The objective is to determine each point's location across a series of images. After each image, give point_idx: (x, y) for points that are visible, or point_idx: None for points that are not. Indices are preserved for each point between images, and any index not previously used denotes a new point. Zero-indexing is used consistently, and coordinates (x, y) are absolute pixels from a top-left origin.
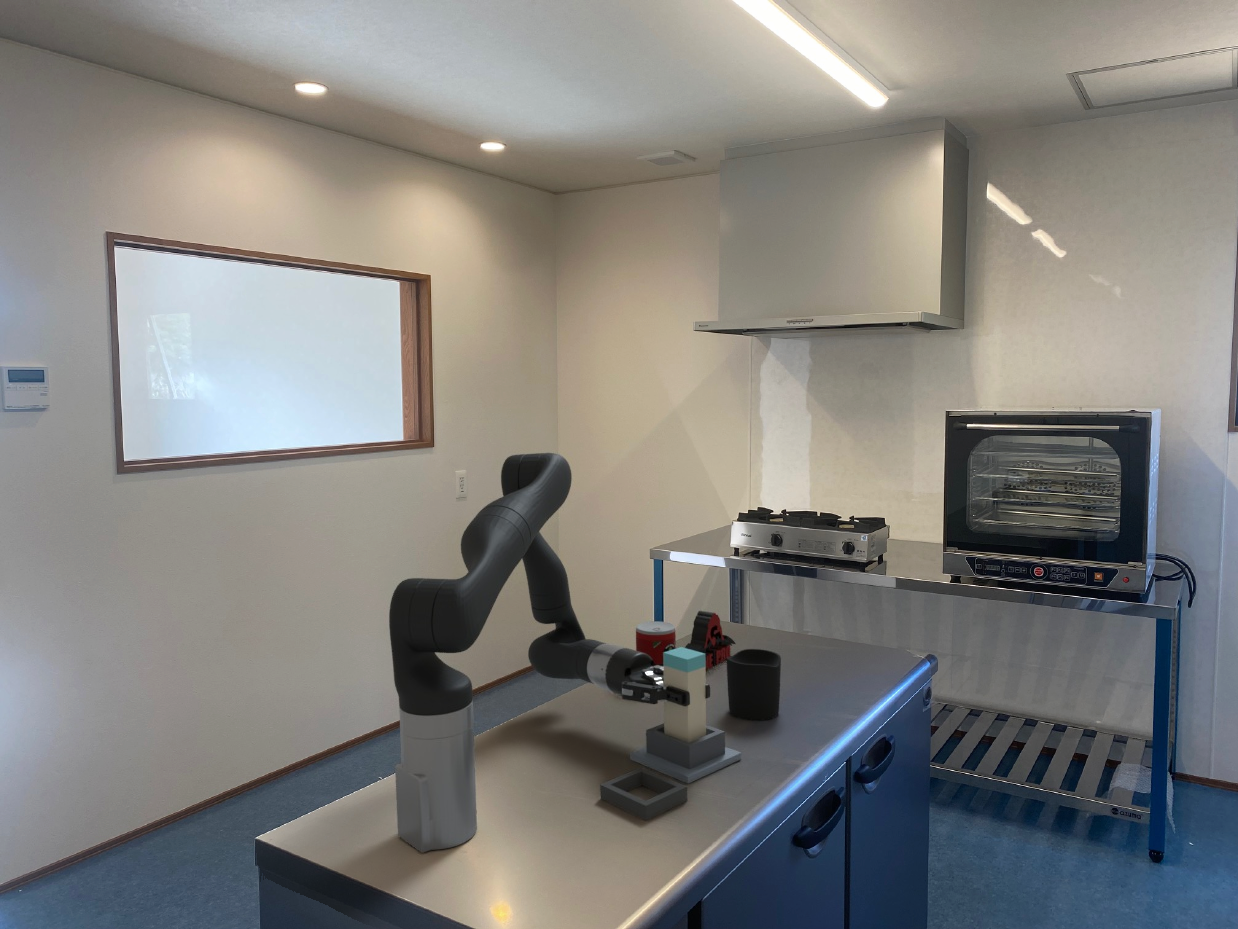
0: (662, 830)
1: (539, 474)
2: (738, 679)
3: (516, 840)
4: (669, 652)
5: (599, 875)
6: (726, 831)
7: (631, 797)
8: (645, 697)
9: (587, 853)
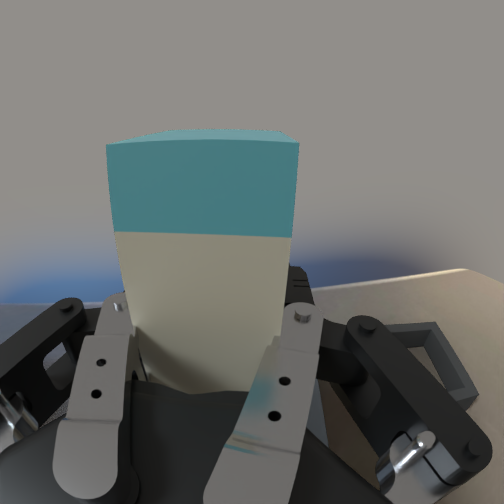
0: (417, 317)
1: None
2: None
3: None
4: (264, 137)
5: (485, 300)
6: (354, 286)
7: (446, 344)
8: (366, 411)
9: (493, 324)
